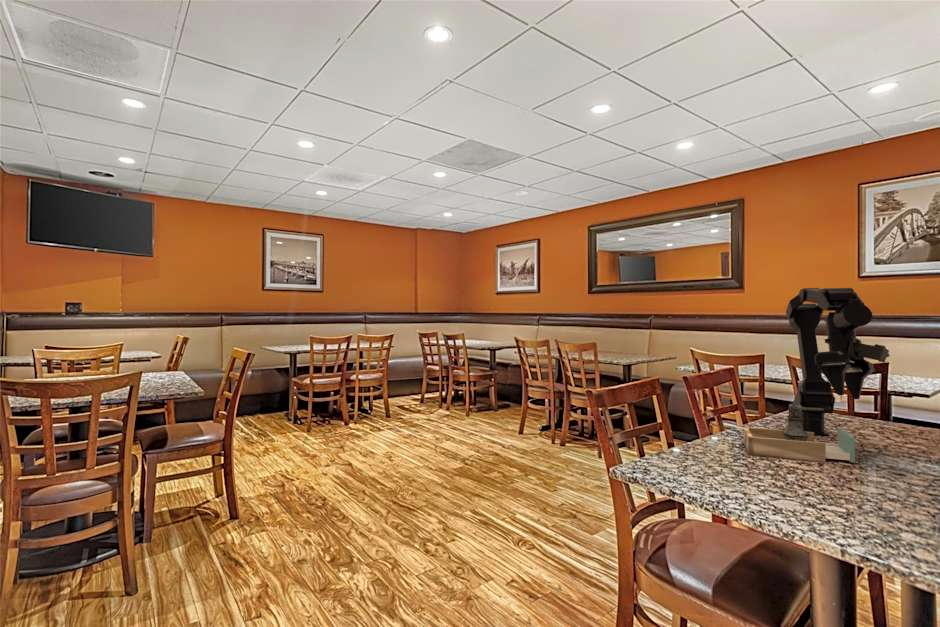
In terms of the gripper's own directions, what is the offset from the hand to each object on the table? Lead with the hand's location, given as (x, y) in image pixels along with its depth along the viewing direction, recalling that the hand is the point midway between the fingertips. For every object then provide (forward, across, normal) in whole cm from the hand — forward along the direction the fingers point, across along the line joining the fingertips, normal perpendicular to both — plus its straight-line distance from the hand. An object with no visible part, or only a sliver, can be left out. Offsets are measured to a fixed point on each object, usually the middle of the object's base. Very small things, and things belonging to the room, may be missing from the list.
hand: (848, 397), depth 117 cm
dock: (+14, -5, +14) cm, 21 cm away
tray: (+14, -2, +9) cm, 17 cm away
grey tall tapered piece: (+13, -4, +11) cm, 18 cm away
